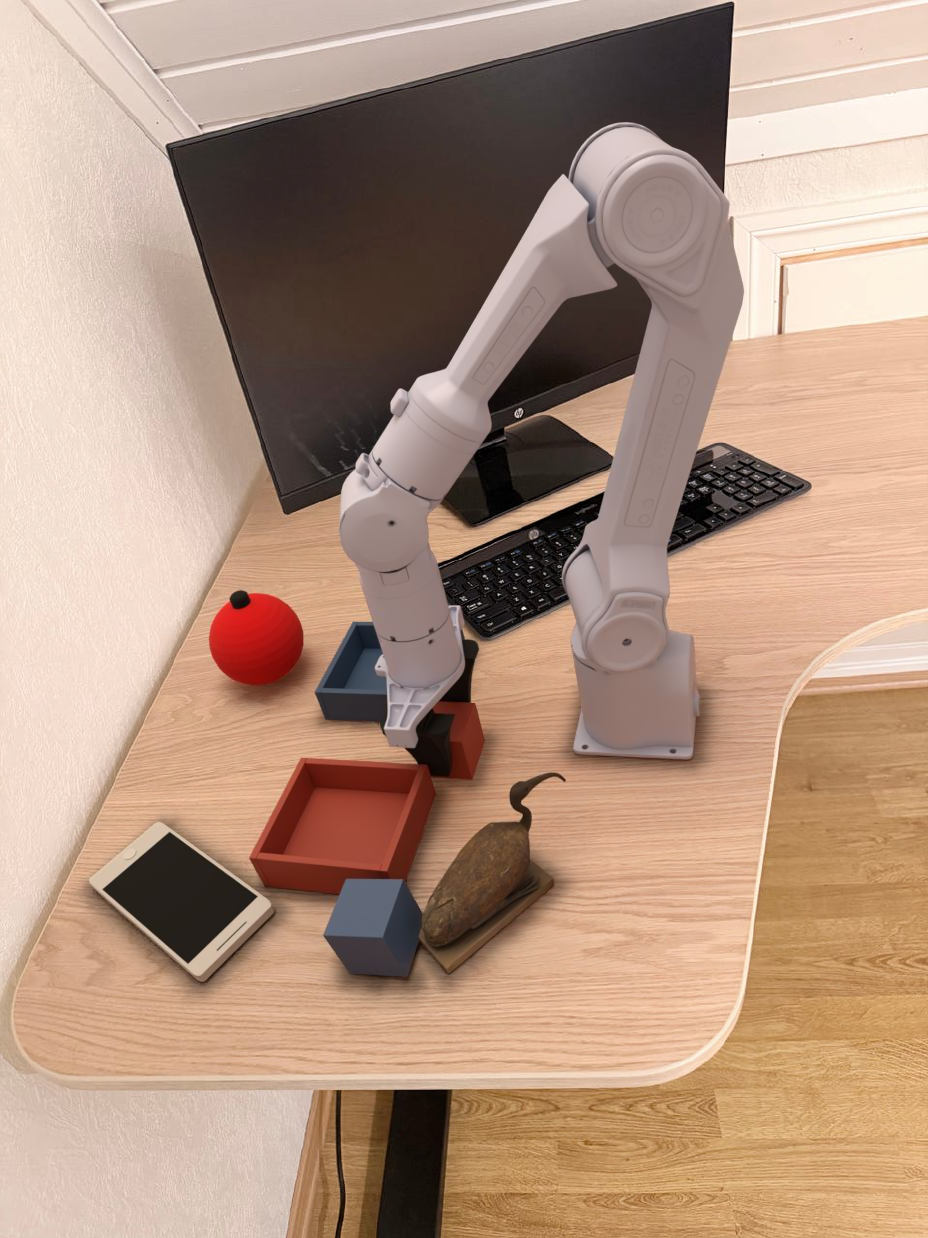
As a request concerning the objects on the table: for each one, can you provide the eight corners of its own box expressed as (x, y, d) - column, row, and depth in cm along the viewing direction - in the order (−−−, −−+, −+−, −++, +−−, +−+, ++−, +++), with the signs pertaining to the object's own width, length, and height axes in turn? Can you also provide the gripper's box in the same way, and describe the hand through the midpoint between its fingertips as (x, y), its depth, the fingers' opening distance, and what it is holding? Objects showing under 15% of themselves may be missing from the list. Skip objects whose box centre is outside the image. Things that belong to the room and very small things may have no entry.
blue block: (426, 918, 64) (403, 879, 62) (407, 977, 61) (382, 937, 58) (370, 917, 66) (345, 878, 63) (349, 973, 62) (322, 935, 60)
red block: (485, 740, 78) (475, 702, 75) (472, 780, 74) (461, 741, 72) (436, 738, 79) (424, 700, 76) (421, 777, 76) (408, 739, 73)
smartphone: (162, 826, 77) (158, 819, 77) (277, 910, 68) (273, 902, 67) (90, 887, 73) (85, 880, 73) (202, 985, 64) (197, 977, 63)
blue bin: (467, 649, 88) (460, 621, 86) (439, 724, 80) (430, 695, 78) (362, 648, 92) (352, 621, 89) (325, 720, 84) (314, 692, 82)
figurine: (555, 817, 70) (538, 737, 65) (597, 849, 67) (582, 768, 61) (410, 934, 64) (379, 857, 59) (449, 976, 61) (419, 897, 56)
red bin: (436, 793, 74) (427, 764, 72) (398, 901, 66) (387, 871, 64) (313, 785, 78) (300, 757, 75) (263, 886, 70) (248, 857, 68)
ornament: (219, 668, 94) (182, 591, 88) (300, 633, 96) (270, 555, 90) (239, 718, 87) (201, 637, 81) (326, 679, 89) (295, 597, 83)
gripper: (392, 562, 74) (427, 685, 82) (328, 682, 64) (376, 810, 72) (474, 561, 72) (502, 687, 80) (422, 685, 61) (461, 816, 70)
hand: (448, 745), depth 76 cm, fingers open, 5 cm apart
